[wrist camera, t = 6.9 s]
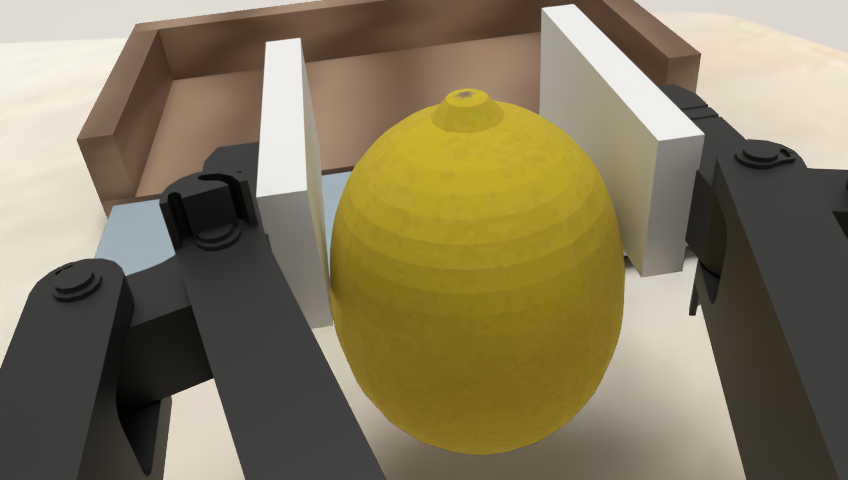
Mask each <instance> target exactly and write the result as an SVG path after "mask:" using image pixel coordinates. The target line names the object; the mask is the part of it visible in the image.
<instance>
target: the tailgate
mask: <svg viewBox="0 0 848 480" xmlns="http://www.w3.org/2000/svg"><path fill="white" fill-rule="evenodd" d="M351 173H352V171H351V172H344V173H337V174H330V175H323V176H322V188H323V201H324V214H325V227H326V240H327V253H328V266H329V280H330V246H331V237H332V229H333V224H334V218H335V214H336V210H337V207H338V204H339V201H340V198H341V195H342V193H343V190H344V188H345V185H346V183H347V180H348V178H349V176H350V174H351ZM686 246H689V245H688V244H687V245H686ZM623 253H624V256H627V254H626V253H625V251H624V250H623ZM174 255H175V251H174V248H173V245H172V242H171V239H170V236H169V233H168V230H167V227H166V224H165V221H164V218H163V215H162V212H161V209H160V206H159V199H157V200H150V201H143V202H136V203H130V204H123V205H116V206H113V208H112V210H111V213H110V216H109V219H108V221H107V224H106V227H105V230H104V232H103V235H102V238H101V240H100V243H99V246H98V249H97V251H96V254H95V257H94V259H96V258H103V259H107V260H111V261H115V262H116V263H117V264H118V265H119V266H120V267H122V269H123V271H124V274H125V276H127V275H130V274H133V273H136V272H139V271H142V270H145V269H147V268H150V267H152V266H155V265H157V264H160V263H162V262H164V261H165V260H167V259H169V258H171V257H172V256H174ZM330 293H331V290H330Z"/></svg>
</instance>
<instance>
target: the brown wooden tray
mask: <svg viewBox="0 0 848 480" xmlns="http://www.w3.org/2000/svg"><path fill="white" fill-rule="evenodd" d="M570 4H574V5H575V6H576V7H577V8H578V9H579V10H580V11H581V12H582V13H583V14H584V15H585V16H586V17H587V18H588V19H589V20H590V21H591V22H592V23H593V24H594V25H595V26H596V27H597V28H598V29H599V30H600V31H601V32H603V33H604V34H605V35H606V36H607V37H608V38H609V39H610V40H611V41H612V42H613V43H614V44H615V45H616V46H617V47H618V48H619V49H620V50H621V51H622V52H623V53H624V54H625V55H626V56H627V57H628V58H629V59H630V60H631V61H632V62H633V63H634V64H635V65H636V66H637V67H638V68H639V69H640V70H641V71H642V72H643V73H644V74H645V75H646V76H647V77H648V78H649V79H650V80H651V81H652V82H653V83H654V84H655V85H656V86H663V85H671V84H675V85H677V86H680V87H682V88H684V89H687V90H689V91H691V92H694V93H696V86H697V79H698V72H699V65H700V58H701V53H700V52H698V51H697V50H696V49H694V48H693V47H692V46H691V45H689V44H688V43H687V42H686V41H684V40H683V39H682V38H681V37H679V36H678V35H677V34H675V33H674V32H673V31H672V30H670V29H669V28H668V27H667V26H665V25H664V24H663V23H661V22H660V21H659V20H658V19H656V18H655V17H654V16H653V15H651V14H650V13H649V12H648V11H646V10H645V9H644V8H642V7H641V6H640V5H639V4H637V3H636V2H635V1H634V0H321V1H313V2H306V3H298V4H290V5H282V6H275V7H267V8H259V9H250V10H243V11H234V12H227V13H219V14H211V15H203V16H195V17H187V18H180V19H171V20H164V21H156V22H148V23H140V24H136V25H135V27H134V29H133V31H132V33H131V35H130V37H129V38H128V40H127V42H126V44H125V46H124V48H123V50H122V52H121V54H120V56H119V58H118V60H117V62H116V64H115V66H114V68H113V70H112V72H111V73H110V75H109V77H108V79H107V81H106V83H105V85H104V87H103V89H102V91H101V93H100V95H99V97H98V99H97V101H96V103H95V105H94V107H93V108H92V110H91V112H90V114H89V116H88V118H87V120H86V122H85V124H84V126H83V128H82V130H81V132H80V134H79V136H78V138H77V142H78V145H79V147H80V150H81V152H82V155H83V157H84V160H85V162H86V165H87V168H88V170H89V173H90V175H91V178H92V180H93V183H94V185H95V188H96V190H97V193H98V196H99V198H100V201H101V203H102V206H103V208H104V211H105V213H106V216H107V218H108V219H109V216H110V213H111V210H112V208H113V206H116V205H123V204H130V203H136V202H143V201H150V200H157V199H160V195H161V194H162V192H163V191H164V190H165V189H166V187H167V186H169V185H170V184H172V183H174V182H175V181H177V180H178V179H180V178H182V177H185V176H188V175H190V174H193V173H196V172H201V171H202V170H203V165H204V161H205V160H206V159H207V158H208V157H209V156H210V155H211V154H212V153H213V151H214V150H215V149H216V148H217V147H222V146H230V145H237V144H245V143H252V142H260V129H261V113H262V98H263V82H264V66H265V51H266V42H271V41H279V40H287V39H295V38H300V39H301V44H302V50H303V56H304V62H305V67H306V73H307V79H308V84H309V90H310V96H311V102H312V107H313V113H314V119H315V125H316V130H317V136H318V142H319V149H320V162H321V175H322V176H323V175H330V174H337V173H344V172H351V171H353V169H354V167H355V165H356V164H357V163H358V161H359V160H360V159H361V158H362V156H363V155H364V154H365V153H366V151H367V150H368V149H369V148H370V147H371V146H372V145H373V144H374V142H375V141H376V140H377V139H378V138H379V137H381V136H382V135H383V134H384V133H385V132H386V131H387V130H388V129H390V128H391V127H393V126H394V125H396V124H397V123H399V122H400V121H402V120H404V119H405V118H407V117H408V116H410V115H412V114H413V113H416V112H418V111H420V110H423V109H425V108H427V107H431V106H434V105H438V104H441V103H442V101H443V100H444V99H445V98H446V96H447V95H448V94H450V93H451V92H453V91H456V90H460V89H478V90H481V91H484V92H485V93H487V94H488V95H489V96H490V97H491V98H492V99H493V100H494V101H500V102H505V103H510V104H514V105H517V106H519V107H522V108H525V109H527V110H530V111H532V112H534V113H536V114H538V115H539V109H540V60H541V12H542V8H546V7H554V6H562V5H570Z"/></svg>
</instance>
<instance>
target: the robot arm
mask: <svg viewBox="0 0 848 480" xmlns="http://www.w3.org/2000/svg"><path fill="white" fill-rule="evenodd" d="M539 115H540V116H542V117H543V118H545V119H547V120H548V121H550V122H552V123H553V124H555V125H556V126H557V127H559V128H560V129H562V130H563V131H565V132H566V133H567V134H568V135H569V136H570V137H571V138H572V139H573V140H574V141H575V142H576V143H577V144H578V145H579V146H580V147H581V148H582V149H583V151H584V152H585V153H586V154H587V155H588V156H589V157H590V158H591V160H592V161H593V163H594V164H595V166H596V167H597V169H598V170H599V172H600V174H601V177H602V179H603V181H604V183H605V186H606V188H607V191H608V194H609V196H610V199H611V202H612V204H613V207H614V211H615V214H616V217H617V221H618V225H619V229H620V234H621V239H622V245H623V250H624V251H625V253H626V254H627V256H628V257H629V259H630V261H631V262H632V264H633V265H634V267H635V268H636V270H637V272H638V273H639V275H640V276H641V277H647V276H654V275H660V274H667V273H673V272H680V271H682V269H683V263H684V257H685V251H686V245H687V244H688V245H689V247H690V248H691V249H692V251H693V252H694V253H695V255H696V256H697V257H698V262H697V268H696V274H695V279H694V285H693V290H692V296H691V301H690V307H689V315H690V316H695V315H696V310H697V306H699V305H700V304H701V308H702V311H703V315H704V319H705V323H706V327H707V331H708V334H709V338H710V342H711V346H712V350H713V353H714V357H715V361H716V365H717V369H718V373H719V376H720V380H721V384H722V388H723V392H724V396H725V399H726V403H727V407H728V411H729V415H730V419H731V422H732V426H733V430H734V434H735V438H736V441H737V445H738V449H739V453H740V457H741V461H742V464H743V468H744V472H745V476H746V480H848V170H837V169H812V168H807V166H806V165H805V163H804V161H803V159H802V158H801V157H800V156H799V155H798V154H797V153H796V152H795V151H794V150H792V149H790V148H788V147H786V146H784V145H781V144H777V143H774V142H770V141H764V140H752V139H748V140H746V139H745V138H744V137H742V136H741V135H740V134H739V133H738V132H737V131H736V130H735V129H734V128H733V127H732V126H730V125H729V124H728V123H727V122H726V121H725V120H724V119H723V118H722V117H719V116H718V114H717V113H716V112H715V111H714V110H713V109H712V108H711V107H709V108H708V104H706V103H705V102H704V101H703V100H702V99H701V98H700V97H699V96H698V95H697V94H696V93H694V92H691V91H689V90H687V89H684V88H682V87H680V86H677V85H675V84H671V85H663V86H656V85H655V84H654V83H653V82H652V81H651V80H650V79H649V78H648V77H647V76H646V75H645V74H644V73H643V72H642V71H641V70H640V69H639V68H638V67H637V66H636V65H635V64H634V63H633V62H632V61H631V60H630V59H629V58H628V57H627V56H626V55H625V54H624V53H623V52H622V51H621V50H620V49H619V48H618V47H617V46H616V45H615V44H614V43H613V42H612V41H611V40H610V39H609V38H608V37H607V36H606V35H605V34H604V33H603V32H601V31H600V30H599V29H598V28H597V27H596V26H595V25H594V24H593V23H592V22H591V21H590V20H589V19H588V18H587V17H586V16H585V15H584V14H583V13H582V12H581V11H580V10H579V9H578V8H577V7H576V6H575V5H574V4H570V5H562V6H554V7H546V8H542V12H541V60H540V109H539ZM159 206H160V209H161V212H162V215H163V218H164V221H165V224H166V227H167V230H168V233H169V236H170V239H171V242H172V245H173V248H174V251H175V255H174V256H172V257H171V258H169V259H167V260H165V261H164V262H162V263H160V264H157V265H155V266H152V267H150V268H147V269H145V270H142V271H139V272H136V273H133V274H130V275H127V276H125V274H124V271H123V269H122V267H120V266H119V265H118V264H117V263H116V262H115V261H111V260H107V259H103V258H96V259H83V260H80V261H76V262H70V263H68V264H65V265H62V267H58V268H57V269H55V270H53V271H51V272H50V273H48V274H47V275H46V276H45V277H43V278H42V279H41V280H39V281H38V282H37V283H36V285H35V286H34V288H33V289H32V291H31V292H30V293H29V296H28V299H27V301H26V304H25V306H24V309H23V311H22V314H21V317H20V319H19V322H18V324H17V327H16V329H15V332H14V335H13V337H12V340H11V342H10V345H9V347H8V350H7V353H6V355H5V358H4V360H3V363H2V365H1V368H0V480H163V475H164V466H165V458H166V449H167V440H168V432H169V423H170V415H171V406H172V398H171V395H173V394H176V393H178V392H181V391H183V390H186V389H188V388H191V387H193V386H195V385H198V384H200V383H203V382H205V381H208V380H210V379H213V378H214V380H215V383H216V386H217V390H218V393H219V396H220V399H221V403H222V406H223V409H224V412H225V415H226V419H227V422H228V425H229V428H230V432H231V435H232V438H233V441H234V444H235V448H236V451H237V454H238V457H239V461H240V464H241V467H242V470H243V473H244V477H245V480H386V478H385V476H384V474H383V472H382V470H381V468H380V466H379V464H378V462H377V460H376V458H375V456H374V454H373V452H372V450H371V448H370V446H369V444H368V442H367V440H366V438H365V436H364V434H363V432H362V430H361V428H360V426H359V424H358V422H357V420H356V418H355V416H354V414H353V412H352V410H351V408H350V406H349V404H348V402H347V400H346V398H345V396H344V394H343V392H342V390H341V388H340V386H339V384H338V382H337V380H336V378H335V376H334V374H333V372H332V370H331V368H330V366H329V364H328V362H327V360H326V358H325V356H324V354H323V352H322V350H321V348H320V346H319V344H318V342H317V340H316V338H315V336H314V334H313V332H312V330H311V329H312V328H319V327H325V326H332V325H333V319H332V306H331V293H330V280H329V266H328V253H327V240H326V227H325V214H324V201H323V188H322V175H321V162H320V149H319V142H318V136H317V130H316V125H315V119H314V113H313V107H312V102H311V96H310V90H309V84H308V79H307V73H306V67H305V62H304V56H303V50H302V44H301V39H300V38H295V39H287V40H279V41H271V42H266V51H265V66H264V82H263V98H262V113H261V129H260V142H252V143H245V144H237V145H230V146H222V147H217V148H216V149H215V150H214V151H213V153H212V154H211V155H210V156H209V157H208V158H207V159H206V160H205V161H204V165H203V170H202V171H201V172H196V173H193V174H190V175H188V176H185V177H182V178H180V179H178V180H177V181H175V182H174V183H172V184H170V185H169V186H167V187H166V189H165V190H164V191H163V192H162V194H161V195H160V199H159Z"/></svg>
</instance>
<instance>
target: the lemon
mask: <svg viewBox="0 0 848 480" xmlns="http://www.w3.org/2000/svg"><path fill="white" fill-rule="evenodd" d="M624 285H625V265H624V253H623V245H622V239H621V234H620V229H619V225H618V221H617V217H616V214H615V211H614V207H613V204H612V202H611V199H610V196H609V194H608V191H607V188H606V186H605V183H604V181H603V179H602V177H601V174H600V172H599V170H598V169H597V167H596V166H595V164H594V163H593V161H592V160H591V158H590V157H589V156H588V155H587V154H586V153H585V152H584V151H583V149H582V148H581V147H580V146H579V145H578V144H577V143H576V142H575V141H574V140H573V139H572V138H571V137H570V136H569V135H568V134H567V133H566V132H565V131H563V130H562V129H560V128H559V127H557V126H556V125H555V124H553V123H552V122H550V121H548V120H547V119H545V118H543V117H542V116H540V115H538V114H536V113H534V112H532V111H530V110H527V109H525V108H522V107H519V106H517V105H514V104H510V103H505V102H500V101H494V100H493V99H492V98H491V97H490V96H489V95H488V94H487V93H485V92H484V91H481V90H478V89H460V90H456V91H453V92H451V93H450V94H448V95H447V96H446V98H445V99H444V100H443V101H442V103H441V104H438V105H434V106H431V107H427V108H425V109H423V110H420V111H418V112H416V113H413V114H412V115H410V116H408V117H407V118H405V119H404V120H402V121H400V122H399V123H397V124H396V125H394V126H393V127H391V128H390V129H388V130H387V131H386V132H385V133H384V134H383V135H382V136H381V137H379V138H378V139H377V140H376V141H375V142H374V144H373V145H372V146H371V147H370V148H369V149H368V150H367V151H366V153H365V154H364V155H363V156H362V158H361V159H360V160H359V161H358V163H357V164H356V165H355V167H354V169H353V171H352V173H351V174H350V176H349V178H348V180H347V183H346V185H345V188H344V190H343V193H342V195H341V198H340V201H339V204H338V207H337V210H336V214H335V218H334V224H333V229H332V237H331V246H330V290H331V306H332V314H333V320H334V324H335V329H336V333H337V336H338V339H339V342H340V345H341V347H342V350H343V352H344V354H345V356H346V358H347V361H348V363H349V365H350V367H351V369H352V372H353V374H354V376H355V378H356V380H357V382H358V384H359V386H360V387H361V389H362V390H363V392H364V393H365V395H366V396H367V397H368V398H369V399H370V400H371V401H372V402H373V403H374V405H375V406H376V407H377V408H378V409H379V410H380V411H381V412H382V413H383V414H384V415H385V417H386V418H387V419H388V420H389V421H390V422H391V423H393V424H394V425H396V426H397V427H398V428H400V429H402V430H403V431H405V432H406V433H408V434H410V435H411V436H413V437H414V438H416V439H418V440H419V441H421V442H423V443H426V444H429V445H432V446H435V447H438V448H441V449H444V450H448V451H451V452H457V453H466V454H476V455H484V454H494V453H504V452H509V451H512V450H515V449H518V448H521V447H524V446H527V445H530V444H533V443H536V442H538V441H540V440H542V439H543V438H545V437H547V436H548V435H550V434H551V433H553V432H555V431H556V430H558V429H560V428H561V427H562V426H564V425H565V424H566V423H568V422H569V421H570V420H571V419H572V418H573V416H574V415H575V414H576V413H577V412H578V411H579V410H580V409H581V408H582V407H583V406H584V405H585V404H586V403H587V402H588V400H589V399H590V398H591V397H592V395H593V394H594V393H595V391H596V389H597V387H598V385H599V384H600V382H601V380H602V378H603V375H604V373H605V371H606V369H607V367H608V365H609V363H610V360H611V358H612V356H613V353H614V351H615V348H616V345H617V342H618V338H619V334H620V330H621V324H622V317H623V304H624Z"/></svg>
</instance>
